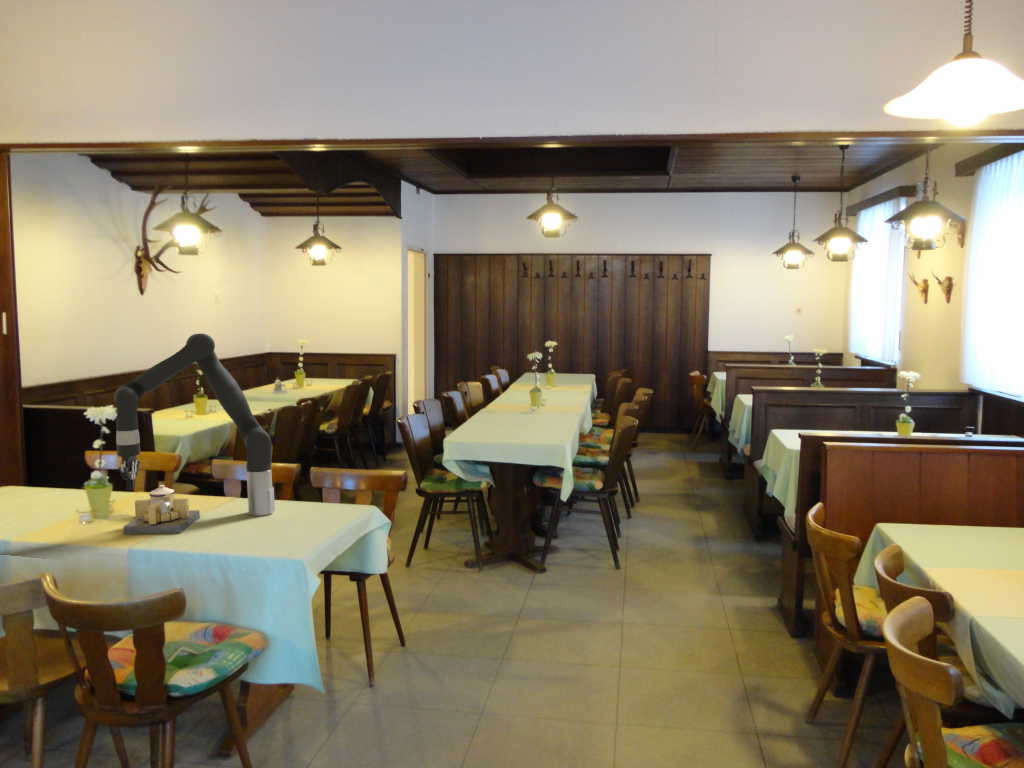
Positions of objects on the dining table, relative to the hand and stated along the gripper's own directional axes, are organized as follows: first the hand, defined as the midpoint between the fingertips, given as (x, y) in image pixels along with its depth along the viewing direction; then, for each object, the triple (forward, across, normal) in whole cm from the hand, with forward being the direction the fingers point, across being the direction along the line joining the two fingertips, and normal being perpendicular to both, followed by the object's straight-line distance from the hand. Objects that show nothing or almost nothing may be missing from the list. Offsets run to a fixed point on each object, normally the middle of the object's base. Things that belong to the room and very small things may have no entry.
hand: (130, 489), depth 288 cm
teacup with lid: (+16, +24, -2) cm, 29 cm away
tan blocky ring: (+12, +6, -8) cm, 16 cm away
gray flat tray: (+15, +6, -8) cm, 19 cm away
